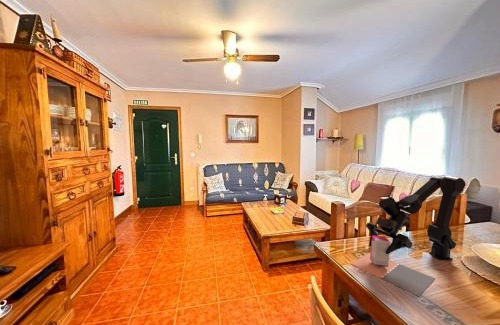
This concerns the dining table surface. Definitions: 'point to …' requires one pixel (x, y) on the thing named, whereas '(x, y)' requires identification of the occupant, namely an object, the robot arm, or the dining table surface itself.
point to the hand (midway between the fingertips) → (377, 249)
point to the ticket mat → (396, 275)
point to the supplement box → (379, 251)
